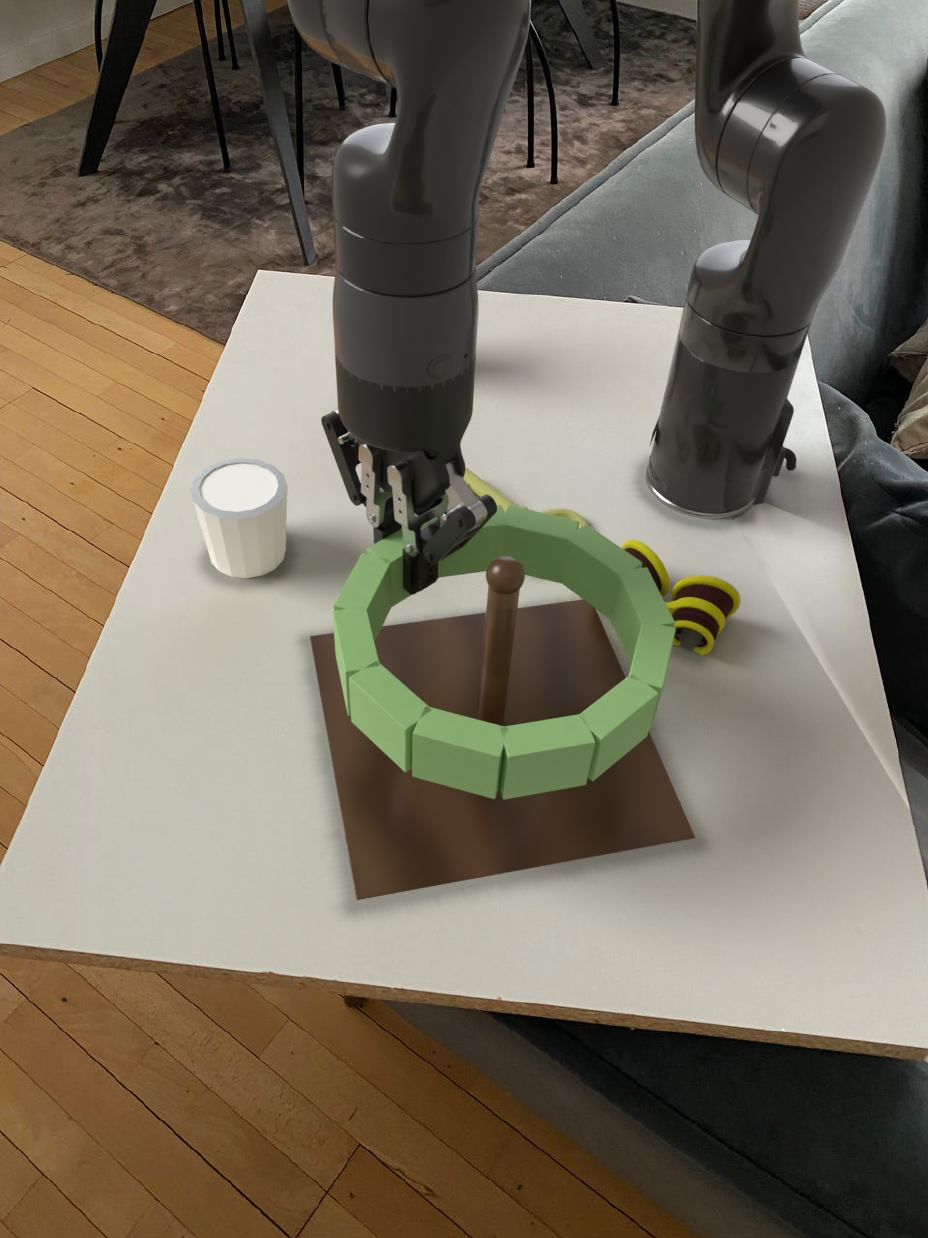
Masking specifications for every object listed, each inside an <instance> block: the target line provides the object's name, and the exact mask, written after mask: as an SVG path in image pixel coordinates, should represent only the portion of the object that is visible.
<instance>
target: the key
mask: <svg viewBox="0 0 928 1238" xmlns="http://www.w3.org/2000/svg"><path fill="white" fill-rule="evenodd" d="M463 479H464V480H465V482H466V483H467V485H468V486H469V487H470V489H471V490H472V492H473V493H474V494H475V495H477V496H479V498H480V497H482V496H483V495H485V494H487V495H490V496H491V497H492V498H493V499H494V500H495V502H496V505H502V507H503V510H504V512H506V510H507V508H508V506H509V505H510V506H515V507H519V506H518V505H517V504H515V503H514V502H512V500H510V499H508V498H507V497H506V496H504V495H503V494H502V493H501V492H499V491H498V490H497V489H496V488H494V487H493V486H492V485H490V484H489V483H487V482H486V481H485V480H484V479H482V478H481V477H480V476H479V475H477V474H475V473H474V472H473V471H472V470H470V469H469V468H467V467H466V470H465V475H464V477H463ZM520 508H523V509H528V510H530V509H529V508H528V507H527V506H521V507H520ZM540 512H541V513H546V514H550V515H554V516H559V517H563V518H568V519H572V520H576V521H579V522H580V524H579V528H581V527H582V526H584V525H585V524H587V525H588V523H587V521H586V519H585V518H584V517H583V516H582V515H580V513H578V512H577V511H574V510H571V509H569V508H562V507H561V508H560V507H559V508H550V509H547V510H544V511H540Z"/></svg>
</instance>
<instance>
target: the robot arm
mask: <svg viewBox="0 0 928 1238" xmlns="http://www.w3.org/2000/svg"><path fill="white" fill-rule="evenodd" d="M799 3H800V0H696V39H695V41H696V42H695V75H694V76H695V78H694V79H695V82H694V138H695V139H694V140H695V148H696V154H697V159H698V163H699V166H700V168H701V170H702V172H703V173H704V175H705V177H706V178H707V179H708V181H709V182H710V183H711V184H712V186H714V187H715V188H716V189H717V190H719V191H720V192H721V193H723V194H724V195H726V196H727V197H728V198H730V199H732V200H733V201H735V202H736V203H738V204H740V205H741V206H742V207H745V208H746V209H747V210H749V211H750V212H753V214H756V215H758V216H757V219H756V223H755V226H754V230H753V233H752V235H751V238H750V239H749V238H747V239H746V238H744V239H734V240H727V241H724V242H720V243H717V244H713V245H711V246H709V247H707V248H706V249H705V250H703V251H702V252H701V253H700V254H699V255H698V256H697V258H696V259H695V262H694V264H693V266H692V269H691V273H690V277H689V281H688V286H687V289H686V290H687V291H686V294H685V299H684V304H683V308H682V313H681V317H680V322H679V326H678V331H677V336H676V339H675V343H674V344H675V345H674V350H673V354H672V359H671V363H670V367H669V371H668V376H667V380H666V385H665V390H664V394H663V398H662V402H661V408H660V412H659V416H658V417H657V421H656V423H655V426H654V428H653V430H652V434H651V438H650V443H649V446H648V447H649V448H651V452H650V455H649V459H648V462H647V465H646V469H645V473H644V475H645V477H644V478H645V483H646V486H647V488H648V490H649V492H650V493H651V494H652V496H653V497H654V498H655V499H656V500H657V501H658V502H659V503H661V504H662V505H663V506H665V507H666V508H668V509H670V510H672V511H675V512H676V513H679V514H681V515H683V516H687V517H690V518H694V519H695V518H696V519H702V520H723V519H729V518H731V520H735V519H737V518H739V517H742V516H744V515H746V513H748V512H749V511H750V510H751V508H752V507H753V506H756V505H762V504H764V503H765V501H766V497H767V494H768V492H769V488H770V485H771V482H772V479H773V477H774V478H775V477H779V475H780V473H781V470H782V467H783V464H784V460H785V468H786V470H787V471H789V472H792V471H794V470H796V468H797V456H796V453H795V452H794V451H793V450H791V449H790V448H787V447H785V446H784V444H785V440H786V438H787V434H788V431H789V429H790V426H791V422H792V419H793V416H794V413H795V409H794V406H793V404H792V403H791V401H790V400H789V399H788V396H789V393H790V390H791V387H792V384H793V381H794V377H795V375H796V372H797V368H798V365H799V362H800V359H801V356H802V352H803V349H804V346H805V344H806V340H807V336H808V333H809V332H810V331H809V330H810V328H811V324H812V322H813V319H814V316H815V313H816V310H817V307H818V304H819V302H820V301H821V299H822V297H823V296H824V295H825V292H826V291H827V289H828V288H829V286H830V285H831V283H832V282H833V280H834V278H835V276H836V275H837V273H838V271H839V269H840V267H841V265H842V263H843V259H844V256H845V254H846V252H847V249H848V246H849V244H850V242H851V238H852V235H853V233H854V230H855V228H856V225H857V223H858V220H859V218H860V215H861V213H862V210H863V207H864V205H865V203H866V201H867V198H868V195H869V193H870V190H871V188H872V185H873V183H874V180H875V177H876V175H877V172H878V169H879V166H880V162H881V159H882V156H883V152H884V148H885V141H886V137H887V114H886V110H885V107H884V103H883V102H882V100H881V98H880V97H879V96H878V95H877V94H876V93H875V92H874V91H873V90H871V89H869V88H868V87H866V86H864V85H863V84H860V83H859V82H857V81H855V80H852V79H850V78H848V77H846V76H845V75H842V74H839V73H837V72H835V71H834V70H832V69H829V68H827V67H825V66H823V65H821V64H820V63H817V62H814V61H812V60H810V59H808V58H807V56H806V54H805V52H804V50H803V46H802V40H801V33H800V31H801V30H800V16H799V12H800V11H799V9H800V7H799ZM287 5H288V9H289V13H290V16H291V19H292V22H293V24H294V27H295V29H296V31H297V32H298V34H299V36H300V37H301V39H302V40H303V41H304V43H305V44H306V45H307V46H308V47H309V48H310V49H311V50H312V51H314V52H315V53H317V54H318V55H319V56H320V57H321V58H323V59H325V60H326V61H329V62H331V63H333V64H334V65H338V66H340V67H342V68H344V69H347V70H350V71H352V72H353V73H354V72H355V73H357V74H361V75H363V76H364V77H368V78H370V79H373V80H375V81H377V82H380V83H382V84H384V85H387V86H389V87H391V88H393V89H395V90H396V92H395V93H396V97H397V110H396V117H395V122H386V123H377V124H373V125H369V126H366V127H363V128H361V129H358V130H356V131H355V132H353V133H351V134H350V135H349V136H347V137H346V138H345V139H344V140H343V141H342V142H341V143H340V146H339V147H338V149H337V151H336V152H335V154H334V155H335V156H334V158H333V159H334V160H333V164H332V167H331V169H332V170H331V206H332V207H331V208H332V210H331V211H332V229H333V247H334V248H333V249H334V281H333V282H334V283H333V291H332V323H333V341H334V342H333V344H334V357H335V358H334V362H335V378H336V395H337V396H336V398H337V408H335V409H334V410H332V411H331V412H329V413H327V414H324V415H323V416H321V418H320V420H321V425H322V428H323V431H324V434H325V436H326V440H327V442H328V444H329V448H330V451H331V452H332V455H333V458H334V461H335V463H336V467H337V468H338V471H339V474H340V477H341V480H342V482H343V485H344V487H345V490H346V493H347V496H348V498H349V500H350V503H352V504H353V505H354V506H356V507H358V506H361V505H363V506H364V507H365V516H366V519H367V521H368V523H369V524H370V526H372V528H373V529H372V530H373V545H374V544H375V543H377V542H379V541H381V540H383V539H384V538H386V537H388V536H390V535H391V534H393V533H395V532H397V531H398V530H400V529H402V536H403V546H404V549H402V555H403V588H404V589H405V590H406V591H407V592H408V593H410V594H411V596H414V595H416V594H417V593H421V592H422V591H424V590H425V589H427V588H428V587H430V586H432V585H433V584H435V583H437V581H438V579H439V578H438V569H439V567H438V566H439V561H441V560H443V559H444V558H446V557H448V556H449V555H451V554H453V553H454V552H456V551H458V550H459V549H461V548H462V547H464V546H465V545H466V544H467V543H468V542H469V541H470V540H471V539H472V538H473V537H474V536H475V535H476V533H477V532H478V531H479V530H480V529H481V528H482V527H483V526H484V525H485V524H486V523H487V522H488V521H489V520H490V518H491V517H492V516H493V515H494V514H495V513H496V512H497V505H496V502H495V500H494V499H493V498H492V497H491V496H490V495H487V494H485V495H483V496H482V497H480V496H479V497H477V496H476V493H475V492H474V491H472V490H471V489H470V487H469V486H468V485H467V483H466V482H465V480H464V479H463V477H464V475H465V470H466V468H467V467H466V463H465V459H464V456H463V452H462V447H461V446H462V445H461V444H462V440H463V437H464V435H465V433H466V431H467V429H468V427H469V425H470V423H471V420H472V417H473V412H474V395H475V380H476V379H475V378H476V377H475V376H476V363H477V362H476V361H477V342H478V341H477V340H478V324H479V292H478V283H477V282H478V281H477V256H478V241H479V240H478V239H479V238H478V237H479V222H480V221H479V219H480V215H479V214H480V192H481V188H482V184H483V181H484V177H485V174H486V171H487V168H488V164H489V163H490V162H489V161H490V158H491V156H492V152H493V148H494V145H495V142H496V139H497V136H498V133H499V129H500V126H501V123H502V119H503V117H504V114H505V110H506V107H507V104H508V101H509V98H510V95H511V92H512V89H513V86H514V84H515V81H516V78H517V75H518V73H519V69H520V66H521V63H522V60H523V56H524V53H525V49H526V45H527V43H528V38H529V37H528V36H529V33H530V32H529V31H530V25H531V13H532V12H531V10H532V9H531V6H532V0H287ZM652 443H653V444H652ZM651 445H652V447H651ZM360 464H361V472H360V473H361V474H360V477H359V476H358V475H359V474H358V473H357V472H358V471H357V467H358V466H359V465H360ZM426 522H427V527H425V528H423V529H422V530H421V527H422V525H423V524H424V523H426Z"/></svg>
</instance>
